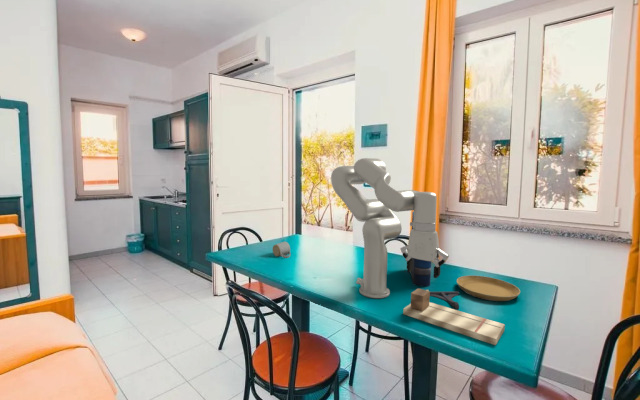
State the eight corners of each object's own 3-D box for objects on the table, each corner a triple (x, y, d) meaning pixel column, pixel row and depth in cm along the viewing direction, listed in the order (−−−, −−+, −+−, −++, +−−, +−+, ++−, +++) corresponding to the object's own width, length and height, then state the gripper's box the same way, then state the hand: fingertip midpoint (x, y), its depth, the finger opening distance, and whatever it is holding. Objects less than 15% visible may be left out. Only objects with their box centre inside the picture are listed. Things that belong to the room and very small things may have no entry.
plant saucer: (510, 285, 146) (511, 278, 146) (527, 308, 123) (528, 299, 123) (453, 279, 153) (453, 272, 153) (459, 299, 130) (460, 291, 130)
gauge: (410, 307, 116) (411, 293, 115) (421, 299, 123) (422, 285, 122) (422, 311, 113) (423, 296, 112) (432, 303, 120) (433, 288, 120)
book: (434, 288, 141) (438, 220, 138) (413, 286, 143) (417, 219, 140) (427, 270, 165) (430, 212, 162) (409, 269, 166) (412, 211, 163)
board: (403, 314, 116) (403, 308, 116) (417, 303, 125) (417, 298, 125) (495, 345, 96) (496, 338, 96) (504, 330, 105) (504, 324, 105)
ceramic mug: (271, 255, 188) (271, 242, 187) (282, 252, 194) (282, 240, 193) (283, 259, 181) (283, 246, 180) (294, 256, 187) (294, 243, 186)
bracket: (438, 310, 120) (438, 303, 120) (423, 294, 135) (424, 288, 135) (475, 310, 121) (476, 303, 121) (457, 295, 136) (457, 288, 135)
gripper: (396, 225, 116) (395, 271, 118) (445, 231, 105) (443, 282, 107) (406, 223, 122) (405, 267, 123) (453, 228, 111) (451, 276, 112)
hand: (422, 274), depth 115 cm, fingers open, 9 cm apart
